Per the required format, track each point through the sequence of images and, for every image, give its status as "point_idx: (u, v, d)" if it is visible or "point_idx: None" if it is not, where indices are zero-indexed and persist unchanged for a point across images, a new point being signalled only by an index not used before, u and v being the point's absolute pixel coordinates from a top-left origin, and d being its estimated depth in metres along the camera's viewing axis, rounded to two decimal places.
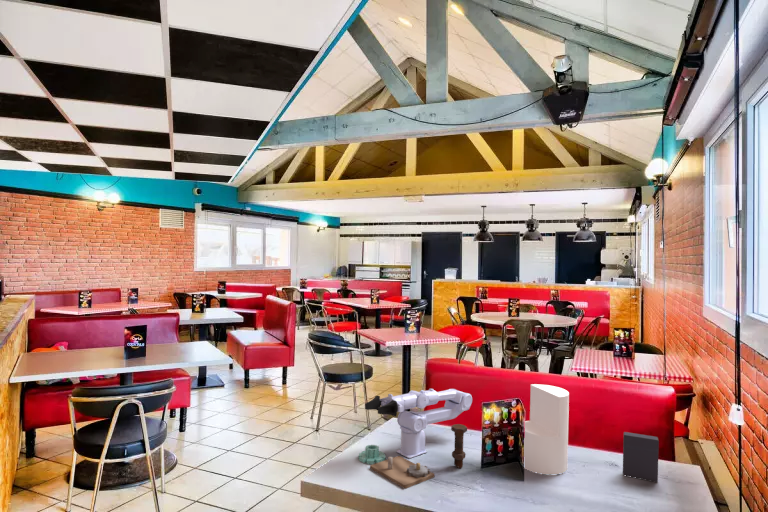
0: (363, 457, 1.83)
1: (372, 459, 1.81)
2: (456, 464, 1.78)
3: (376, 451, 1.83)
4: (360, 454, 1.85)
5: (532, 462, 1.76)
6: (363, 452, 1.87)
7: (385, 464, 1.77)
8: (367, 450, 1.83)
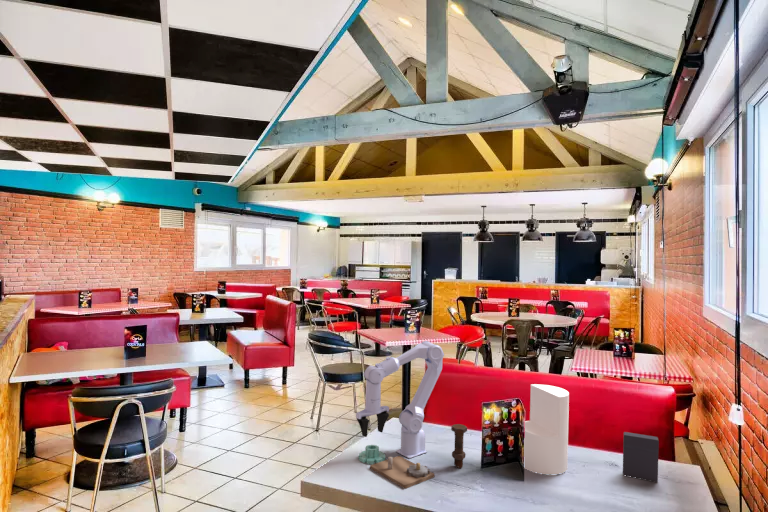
0: (363, 457, 1.83)
1: (372, 459, 1.81)
2: (456, 464, 1.78)
3: (376, 451, 1.83)
4: (360, 454, 1.85)
5: (532, 462, 1.76)
6: (363, 452, 1.87)
7: (385, 464, 1.77)
8: (367, 450, 1.83)
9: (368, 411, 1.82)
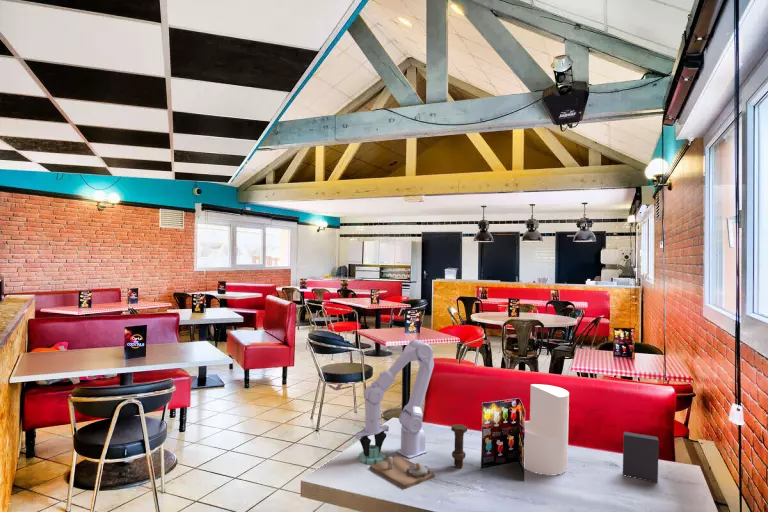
0: (363, 457, 1.83)
1: (372, 459, 1.81)
2: (456, 464, 1.78)
3: (376, 451, 1.83)
4: (360, 454, 1.85)
5: (532, 462, 1.76)
6: (363, 452, 1.87)
7: (385, 464, 1.77)
8: None
9: (368, 431, 1.82)
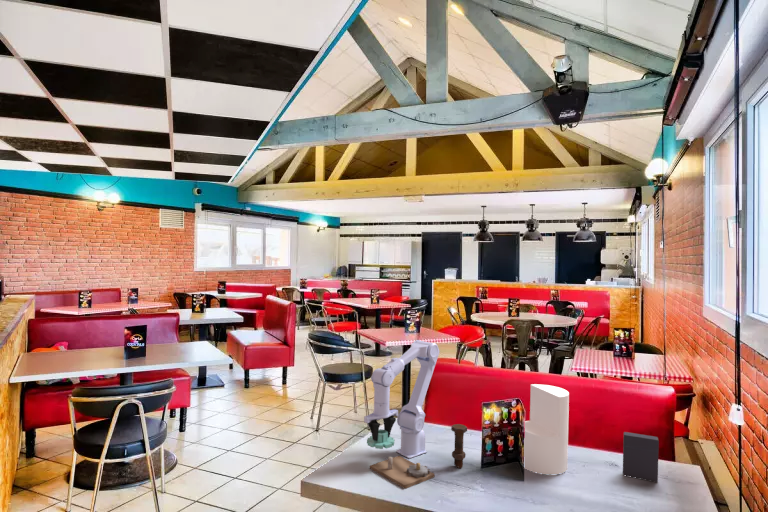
0: (371, 441, 1.77)
1: (381, 444, 1.75)
2: (456, 464, 1.78)
3: (385, 436, 1.77)
4: (368, 439, 1.80)
5: (532, 462, 1.76)
6: (371, 437, 1.82)
7: (385, 464, 1.77)
8: None
9: (376, 415, 1.77)
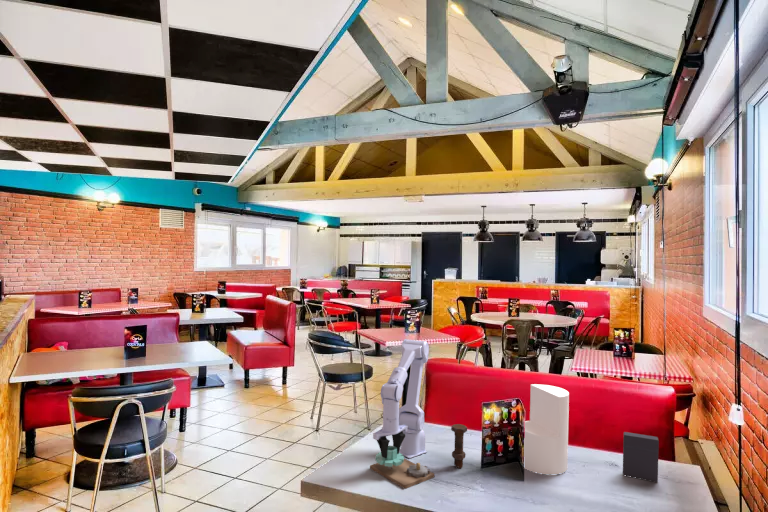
0: (380, 459, 1.71)
1: (390, 461, 1.70)
2: (456, 464, 1.78)
3: (394, 452, 1.72)
4: (377, 455, 1.74)
5: (532, 462, 1.76)
6: (380, 453, 1.76)
7: None
8: None
9: (386, 431, 1.71)
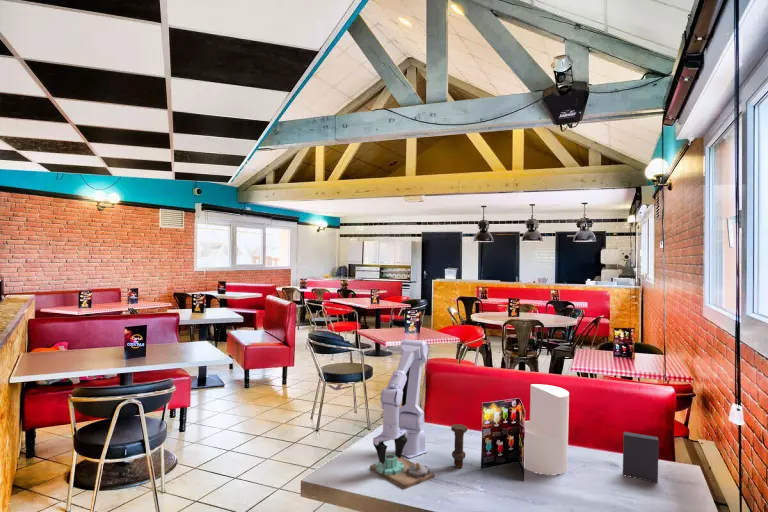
0: (380, 467, 1.72)
1: (390, 469, 1.70)
2: (456, 464, 1.78)
3: (394, 461, 1.72)
4: (377, 464, 1.74)
5: (532, 462, 1.76)
6: None
7: None
8: None
9: (386, 436, 1.71)
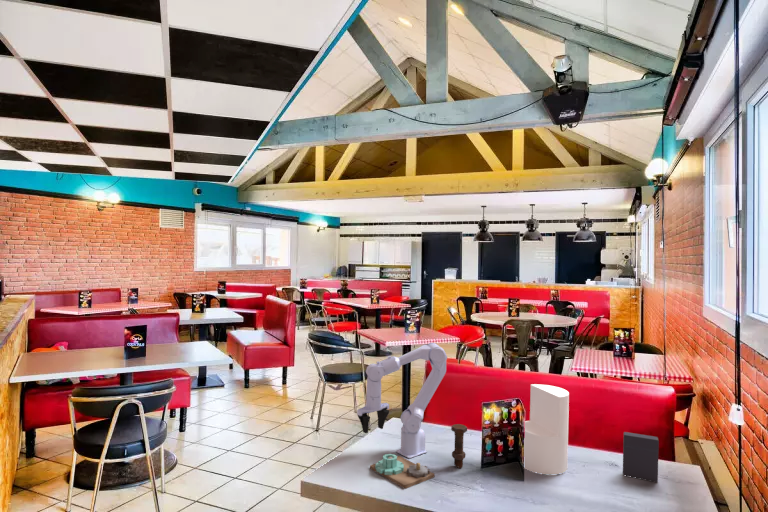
0: (380, 467, 1.72)
1: (390, 469, 1.70)
2: (456, 464, 1.78)
3: (394, 461, 1.72)
4: (377, 464, 1.74)
5: (532, 462, 1.76)
6: (380, 462, 1.76)
7: None
8: (384, 460, 1.72)
9: (369, 408, 1.86)
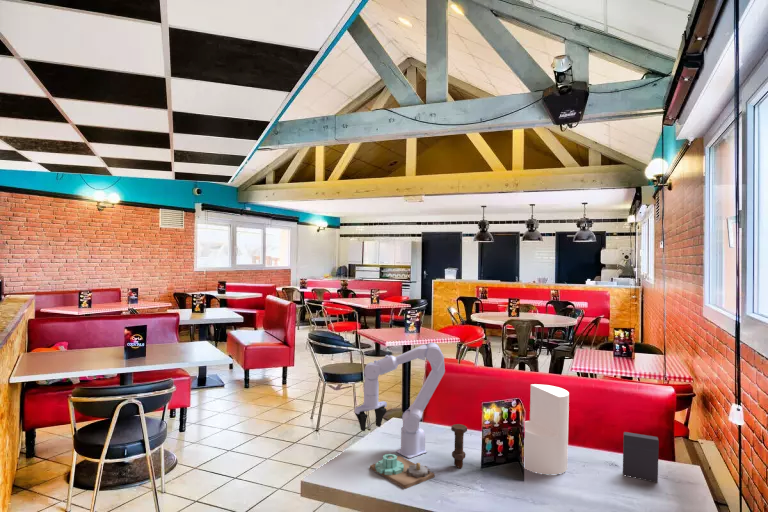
0: (380, 467, 1.72)
1: (390, 469, 1.70)
2: (456, 464, 1.78)
3: (394, 461, 1.72)
4: (377, 464, 1.74)
5: (532, 462, 1.76)
6: (380, 462, 1.76)
7: None
8: (384, 460, 1.72)
9: (366, 406, 1.88)
